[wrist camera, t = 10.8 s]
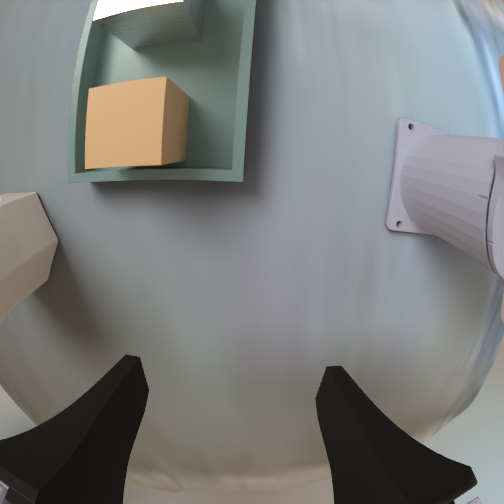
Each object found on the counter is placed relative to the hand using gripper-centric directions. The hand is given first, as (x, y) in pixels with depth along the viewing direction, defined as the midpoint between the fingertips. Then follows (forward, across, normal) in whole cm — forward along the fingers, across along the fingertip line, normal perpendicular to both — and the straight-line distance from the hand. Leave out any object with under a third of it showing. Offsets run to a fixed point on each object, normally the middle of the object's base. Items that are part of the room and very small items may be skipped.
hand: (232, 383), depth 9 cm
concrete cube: (+9, +6, -18) cm, 21 cm away
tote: (+10, +6, -14) cm, 18 cm away
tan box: (+9, +6, -10) cm, 14 cm away
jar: (+10, +19, -2) cm, 22 cm away
